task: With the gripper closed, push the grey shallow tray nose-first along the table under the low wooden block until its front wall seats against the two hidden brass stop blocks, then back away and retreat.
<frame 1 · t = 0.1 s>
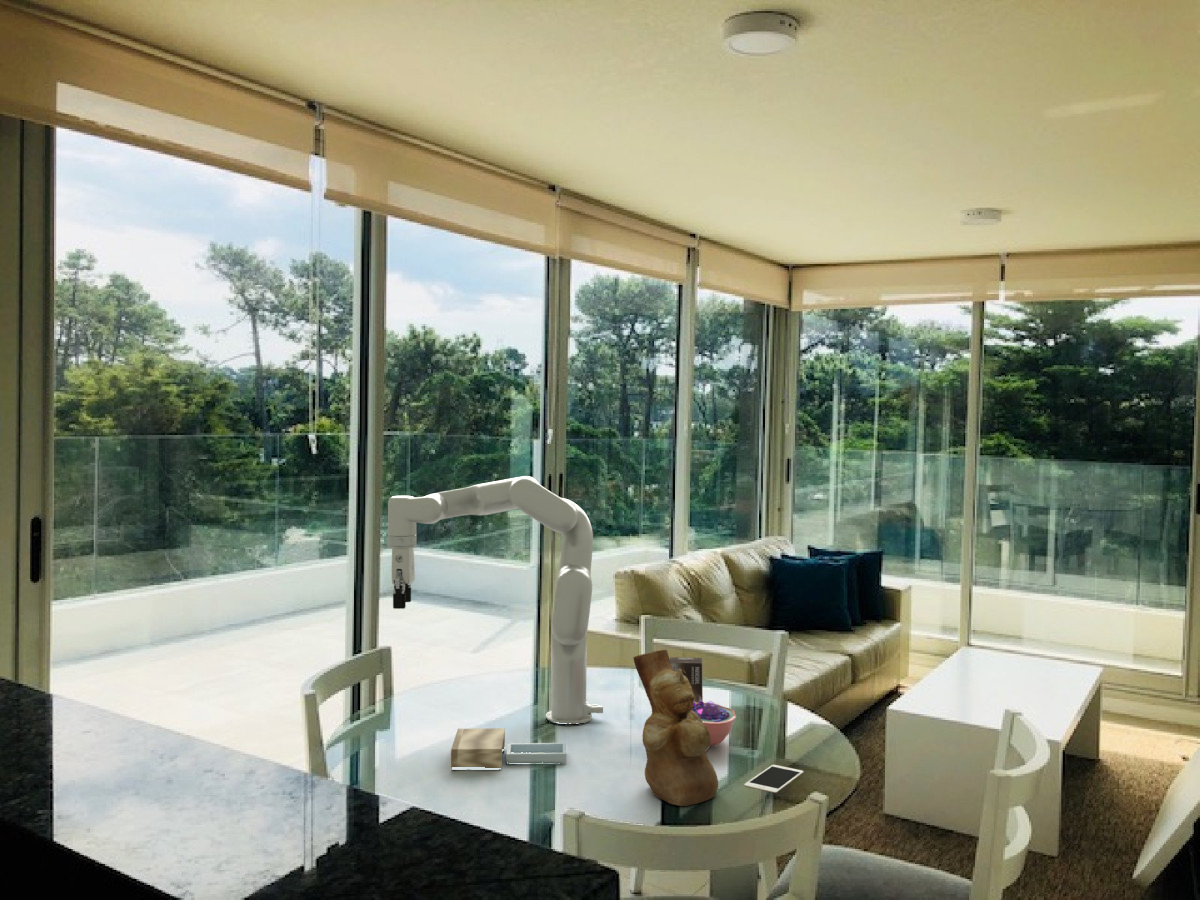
hand: (402, 605, 264), 31 cm above the table, tool pointing down, fingers open, 9 cm apart
grey shallow tray: (536, 758, 234), on the table
cell model: (697, 745, 246), on the table
coffee box: (685, 719, 268), on the table
cell phone: (774, 781, 222), on the table
wooden block: (486, 759, 234), on the table
ceramic vessel: (671, 790, 215), on the table
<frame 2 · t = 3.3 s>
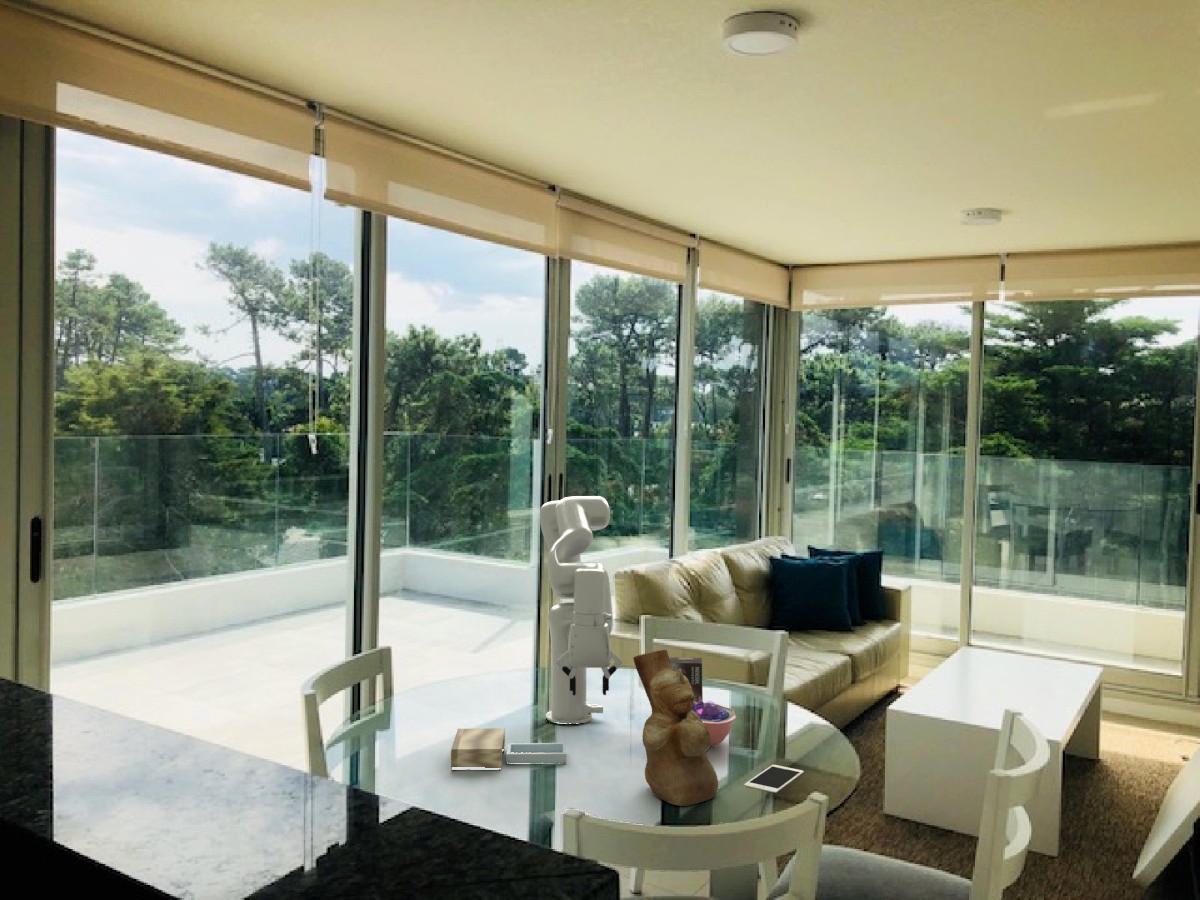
hand: (589, 693, 235), 16 cm above the table, tool pointing down, fingers open, 6 cm apart
nothing on the table moved.
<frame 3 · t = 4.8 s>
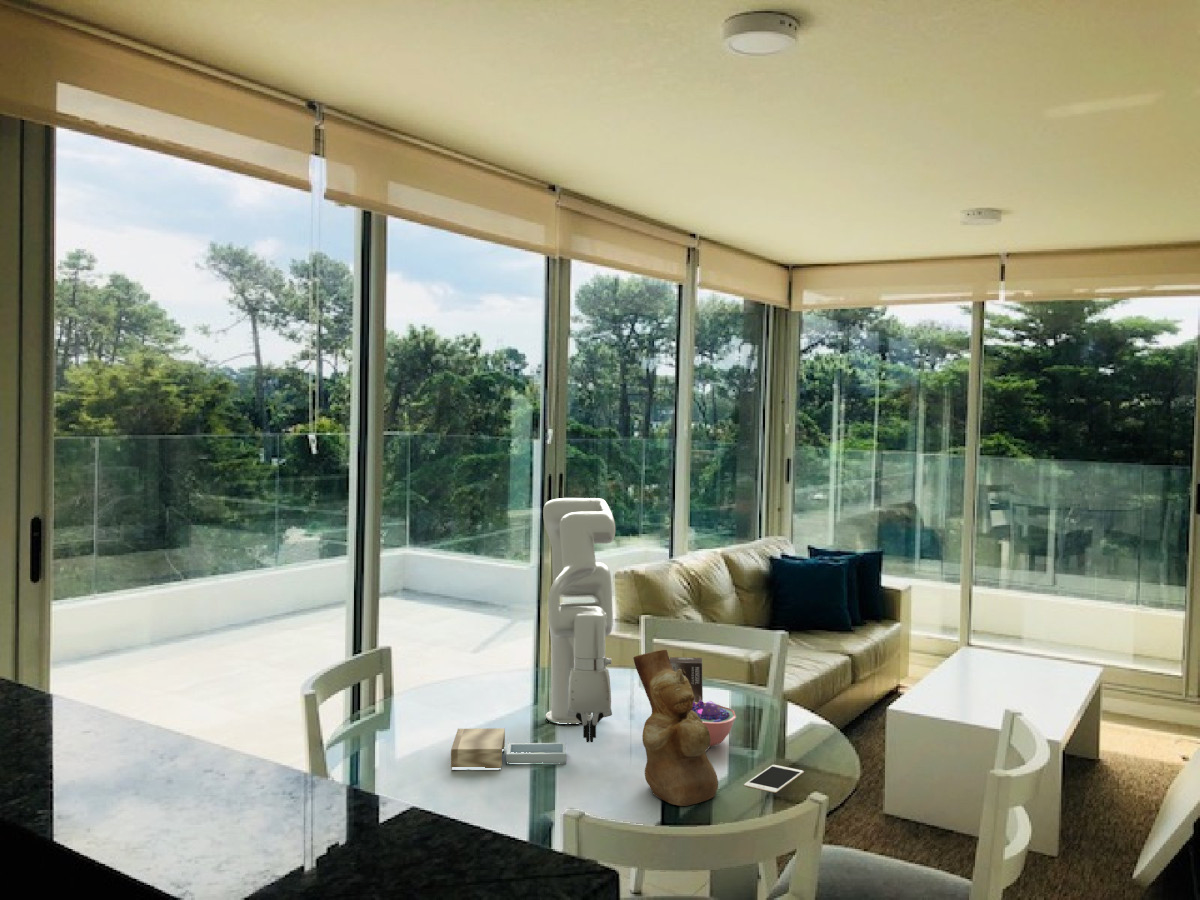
hand: (589, 740, 234), 5 cm above the table, tool pointing down, fingers closed
nothing on the table moved.
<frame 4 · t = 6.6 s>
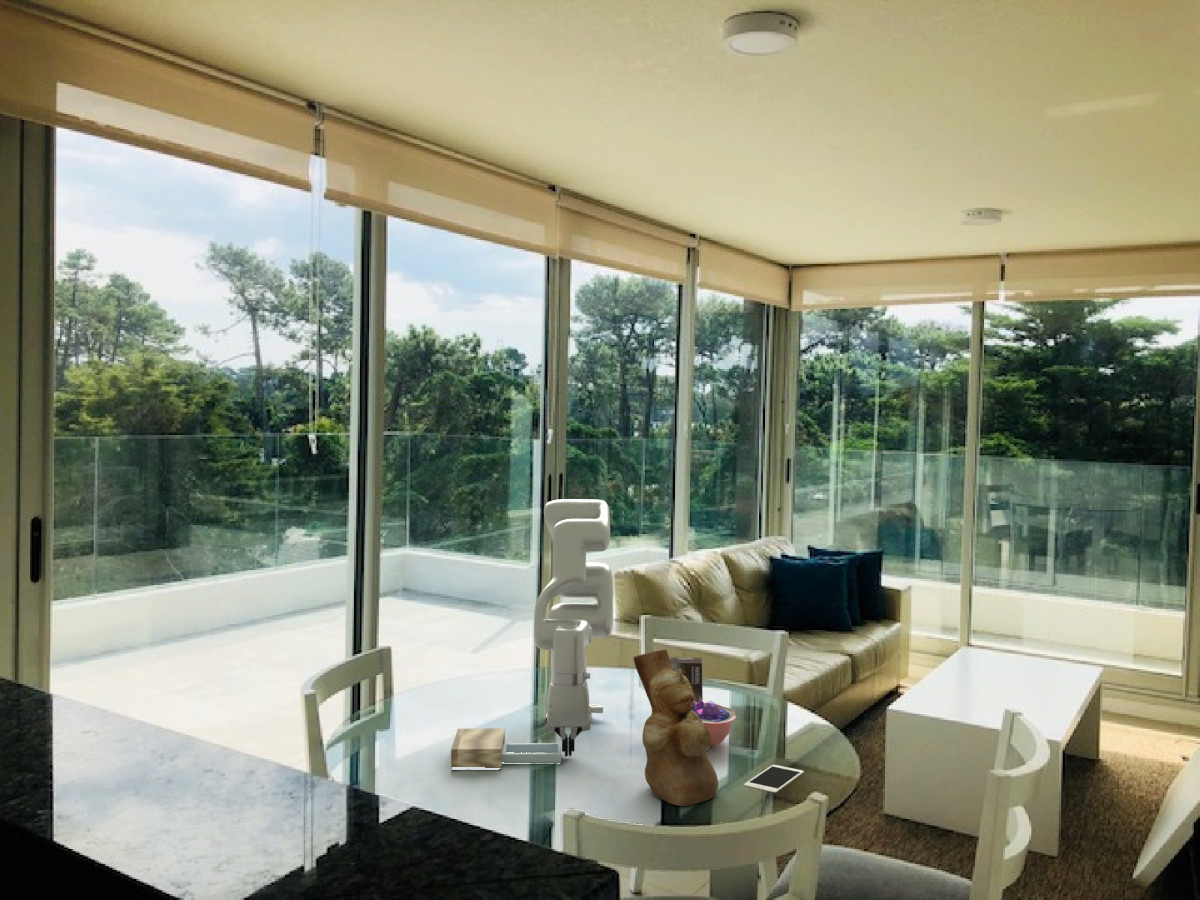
hand: (568, 754, 235), 1 cm above the table, tool pointing down, fingers closed
grey shallow tray: (531, 758, 234), on the table, touching gripper
everything else where it was.
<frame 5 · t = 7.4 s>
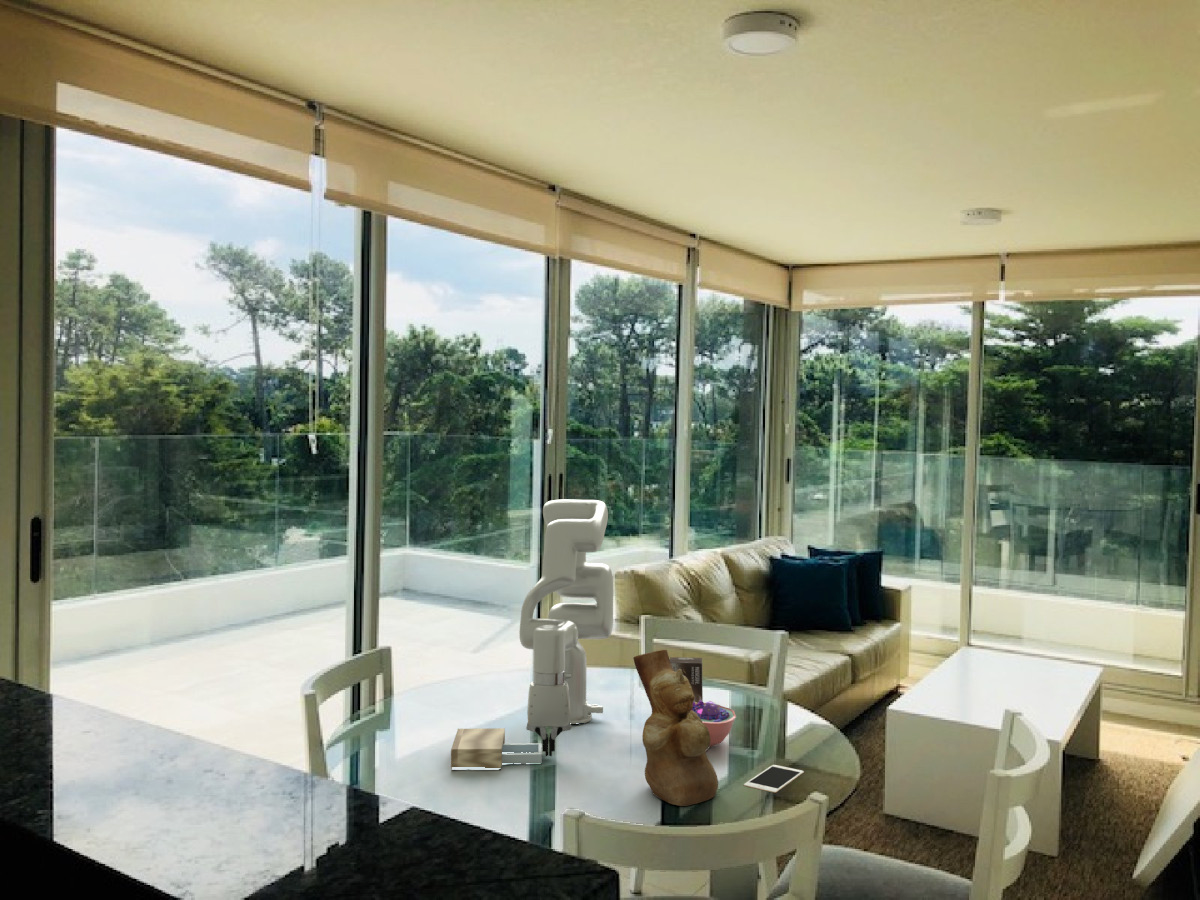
hand: (548, 754, 234), 1 cm above the table, tool pointing down, fingers closed
grey shallow tray: (512, 759, 234), on the table, touching gripper
everything else where it was.
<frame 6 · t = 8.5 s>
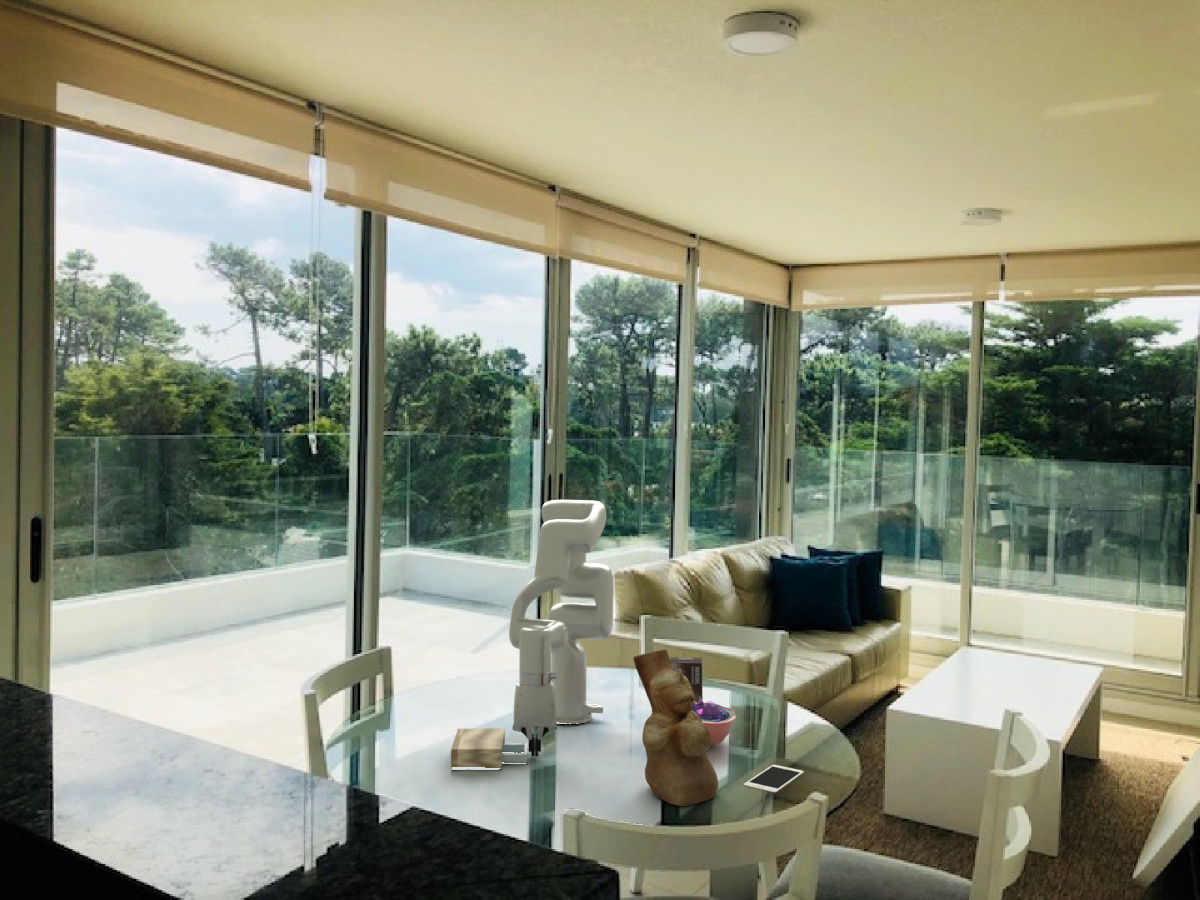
hand: (534, 754, 234), 1 cm above the table, tool pointing down, fingers closed
grey shallow tray: (498, 759, 234), on the table, touching gripper
everything else where it was.
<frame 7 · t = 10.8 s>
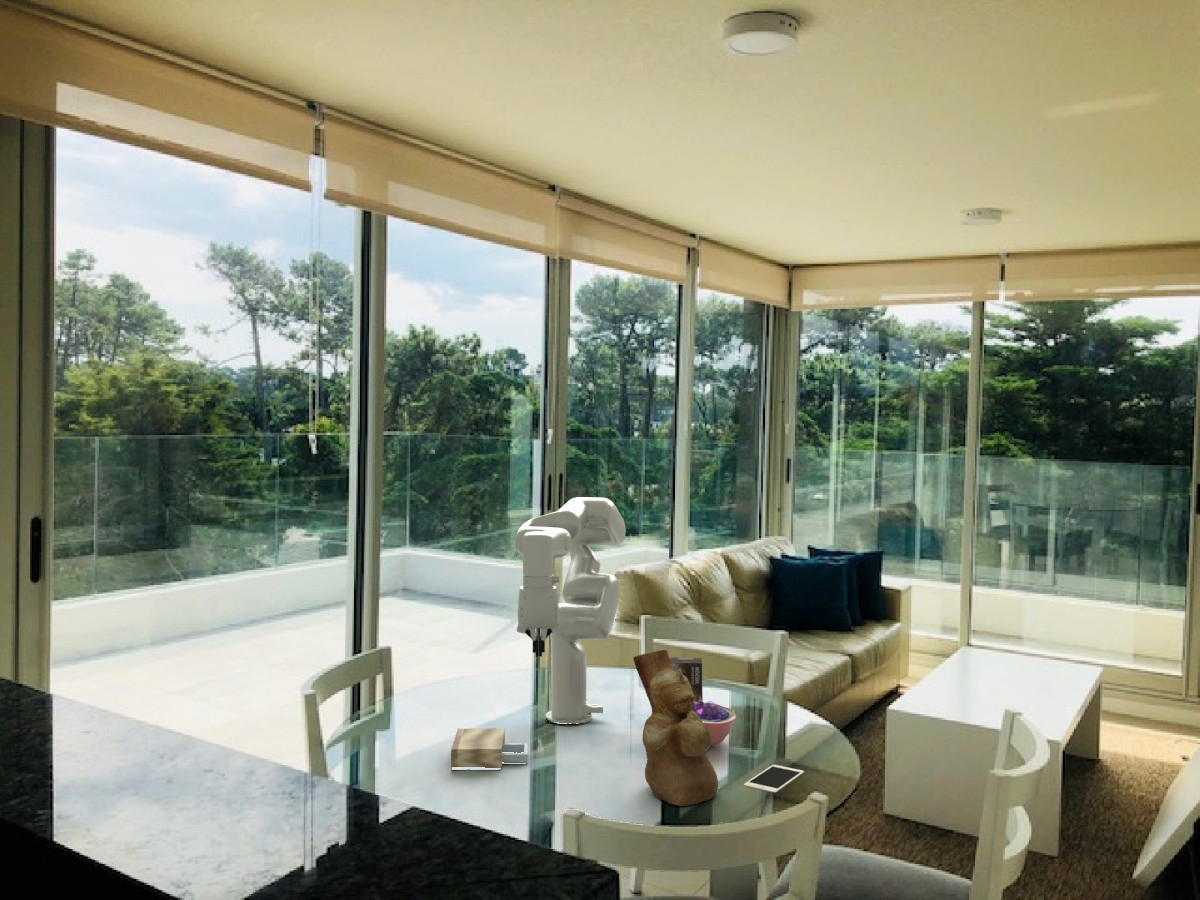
hand: (538, 655, 243), 23 cm above the table, tool pointing down, fingers closed
grey shallow tray: (498, 759, 234), on the table
everything else where it was.
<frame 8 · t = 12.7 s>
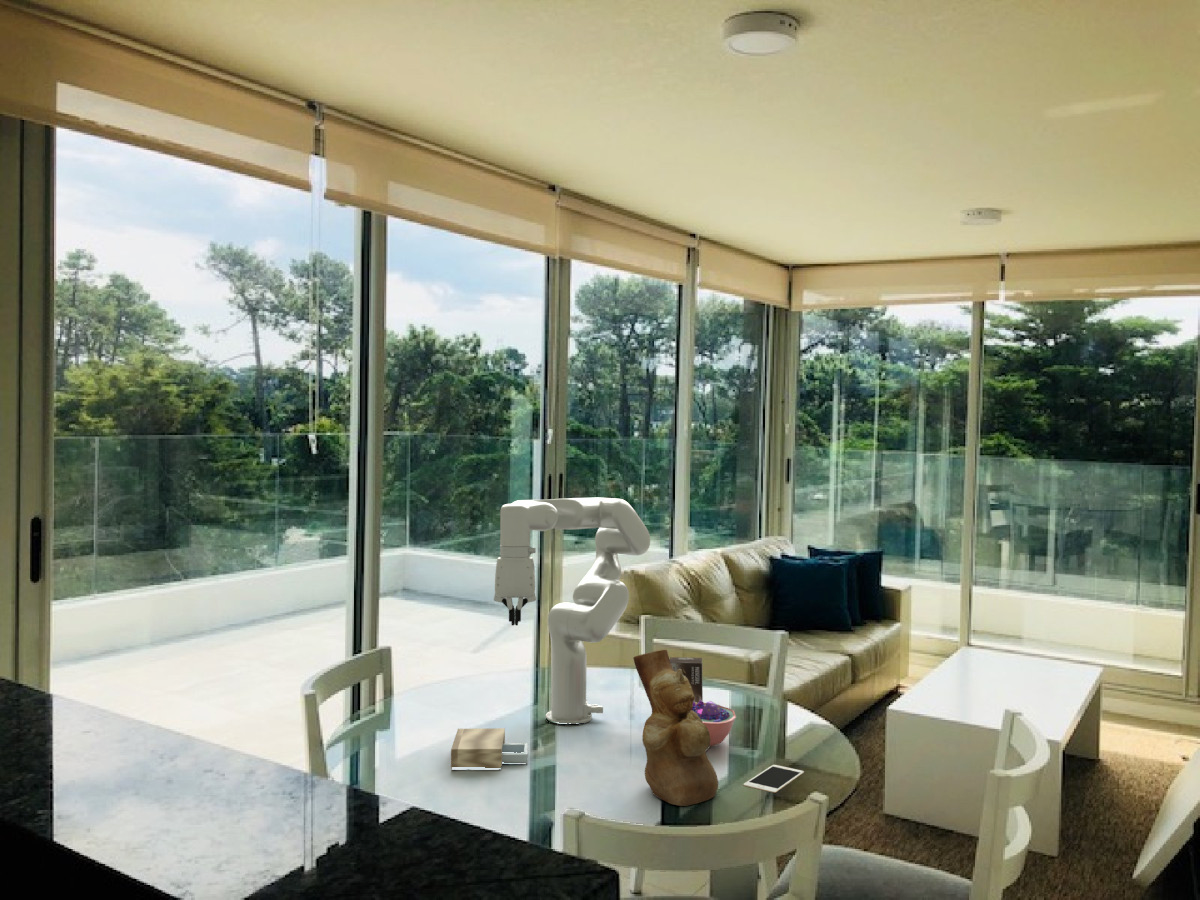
hand: (514, 624, 250), 29 cm above the table, tool pointing down, fingers closed
nothing on the table moved.
at the end: grey shallow tray 0.3 cm from the target spot on the wooden block, point 0.0 cm above the wooden block's base; grey shallow tray tilted 0° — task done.
